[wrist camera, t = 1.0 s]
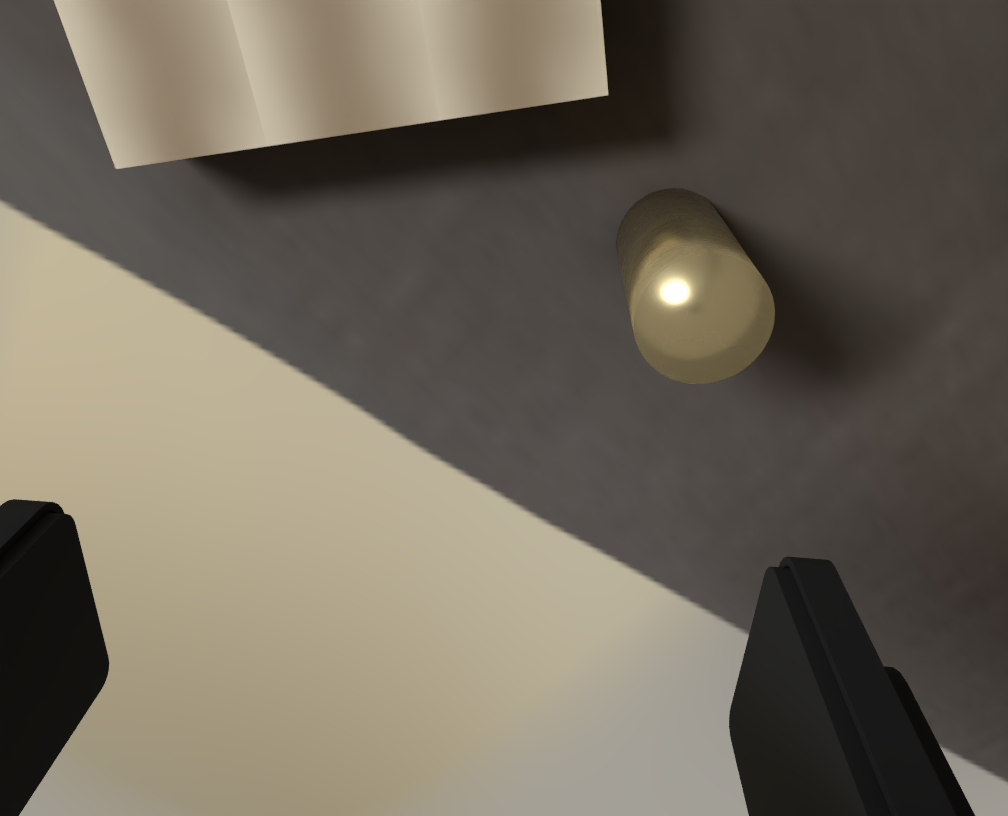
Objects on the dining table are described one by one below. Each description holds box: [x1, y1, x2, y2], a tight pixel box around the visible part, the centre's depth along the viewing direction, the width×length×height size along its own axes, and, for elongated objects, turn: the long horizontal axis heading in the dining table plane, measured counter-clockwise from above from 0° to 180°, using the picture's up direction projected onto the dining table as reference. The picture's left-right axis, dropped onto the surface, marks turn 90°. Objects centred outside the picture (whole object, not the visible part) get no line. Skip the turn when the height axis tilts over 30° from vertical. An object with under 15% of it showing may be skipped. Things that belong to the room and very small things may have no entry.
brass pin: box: [616, 188, 775, 384], centre depth 26 cm, size 4×4×8 cm
